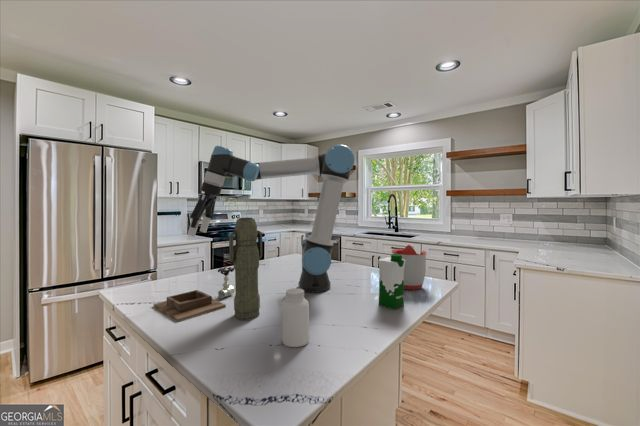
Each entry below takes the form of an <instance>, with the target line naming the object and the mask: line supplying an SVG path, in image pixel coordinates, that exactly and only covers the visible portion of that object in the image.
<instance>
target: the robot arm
mask: <svg viewBox="0 0 640 426" xmlns="http://www.w3.org/2000/svg"><path fill="white" fill-rule="evenodd" d="M233 154H234V151H233V150H232V149H230V148H227V147H224V146H221V145H216V146H214V147H213V151H212V153H211V155H210V159H209V163H208V165H207V169H206V172H204V178H203V180H204V181H203V182H202V184H201V187H200V190H201V192H203V193H201V194H200V195H199V198H198V200H197V202H196V204H195V207H194V209H193V210H192V212H191V214H190V216H189V219H191V222H190V224H189V228H188V231H187V236H190V237H196V234H197V231H198V227H199V223H200V219H201V218H202V216H203V214H204V216H203V218H202V222H201V225H200V229H199V232H201V233H205V234H206V233H207V230H208V228H209V224H210V221H211V219H214V213H215V209H216V208H215V206H216V201H217V198H218V197H217V196H220V195H221V193H222V189H223V188H222V187H223V186H224V183H225V179H226V176H227V174H229V175H232V176H234V177H237V178H240V179H244V180H245V181H248V182H255V181H258V180H265V179H276V178H277V179H278V178H286V177H298V176H310V175H316V176H318V177H322V179H323V180H322V181H323V182H322V185H321V189H320V195H319V198H318V202H317V203H318V204H317V208H316V212H315V217H314V221H313V224H312V229H311V233H310V235H309V236H308V237H306V238H304V239H302V241H301V274H300V277H299V281H298V283H297V284H298V287H297V288H298V289H303V290H304V293H305V292H307V293H321V292H326V291H329V290H330V289H331V284H332V283H331V281H330V278H329V274H328V271H329V269H330V268H331V264H332V252H333V249H334V242H333V241H332V237H333V233H334V232H333V231H334V228H335V224H336V218H337V214H338V211H339V207H340V202H341V196H342V192H343V188H344V185H345V184H346V183H347V182H349V179H350V173H351V170H352V168H353V167H354V164H355V153H354V152H353V150H352V149H351V148H350V147H349V146H348V145H345V144H335V145H332V146H330V147H329V148H328V150H326V152H324V153H322V154H316V155H315V156H313V157H305V158H304V157H303V158H294V159H285V160H284V159H283V160H274V161H273V160H272V161H263V162H261V161H260V162H253V161H250V160H246V159H243V158H240V157H237V156H236V155H235V156H234V155H233Z"/></svg>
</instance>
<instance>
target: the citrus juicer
mask: <svg viewBox="0 0 640 426" xmlns="http://www.w3.org/2000/svg"><path fill="white" fill-rule="evenodd" d="M391 252H392V254H399V255H402V259H403V260H406V261H405V267H404V290H407V291H412V290H414V291H415V290H419V289H421V288H422V287H423V285H424V281H425V278H426V272H427V271H426V266H427V265H426V264H427V255H426V254H427V251H425V250H422V251H420V253H417V252H416V250H415V249H414V248H413V246H411V245H410V244H408V245H406V246H405V247H404V248H394V249H392V250H391ZM392 254H391V255H392Z"/></svg>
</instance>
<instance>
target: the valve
mask: <svg viewBox="0 0 640 426" xmlns="http://www.w3.org/2000/svg"><path fill="white" fill-rule="evenodd" d="M217 272H218V273H220V274H222V275H223V276H224V277H223V281H224V282H222V289H220V290H219V291H218V292H217V294H218V297H219V298H220V299H223V298H228V297H230V296H231V295H232V294H234V293H235V286H233V285H231V283H230V282H229V280H230V279H229V273H230V272H231V273H233V272H235V269H234V267H231V266H229V267H225V266H223V268H222V267H219V268H218V269H217Z"/></svg>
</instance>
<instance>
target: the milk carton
mask: <svg viewBox="0 0 640 426" xmlns="http://www.w3.org/2000/svg"><path fill="white" fill-rule="evenodd" d="M405 261H406V260H403V259H402V255H399V254H390V256H388V257H384V258H381V259H377V263H378V268H379V270H378V272H379V274H378V276H379V278H378V280H379V281H378V282H379V283H378V286H379V287H378V288H379V289H378V291H379V292H378V306H381V307H385V308H388V309H391V310H396V309H399V308H400V307H403V306H404V305H405V299H404V298H405V297H404V296H405V295H404V290H405V289H404V267H405Z"/></svg>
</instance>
